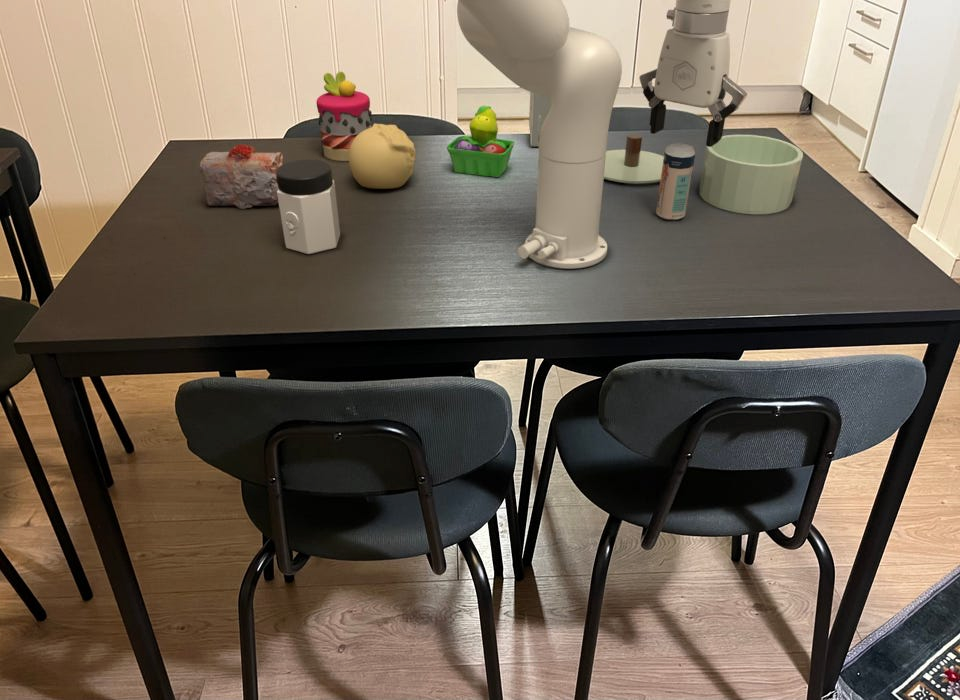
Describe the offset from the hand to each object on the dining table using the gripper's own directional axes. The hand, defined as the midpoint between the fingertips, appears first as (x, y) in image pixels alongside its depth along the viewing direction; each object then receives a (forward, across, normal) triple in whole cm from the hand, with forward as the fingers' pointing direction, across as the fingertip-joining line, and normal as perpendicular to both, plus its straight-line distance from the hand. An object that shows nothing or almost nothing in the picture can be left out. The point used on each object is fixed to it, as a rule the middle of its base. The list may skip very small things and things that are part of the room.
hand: (684, 137), depth 119 cm
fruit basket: (+13, -38, -5) cm, 41 cm away
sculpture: (+13, -47, -22) cm, 54 cm away
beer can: (+13, 0, -1) cm, 13 cm away
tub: (+14, +6, +15) cm, 21 cm away
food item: (+12, -59, -43) cm, 74 cm away
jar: (+12, -38, -46) cm, 61 cm away
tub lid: (+13, -16, +13) cm, 25 cm away
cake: (+13, -65, -15) cm, 68 cm away
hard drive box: (+14, -40, +19) cm, 47 cm away
